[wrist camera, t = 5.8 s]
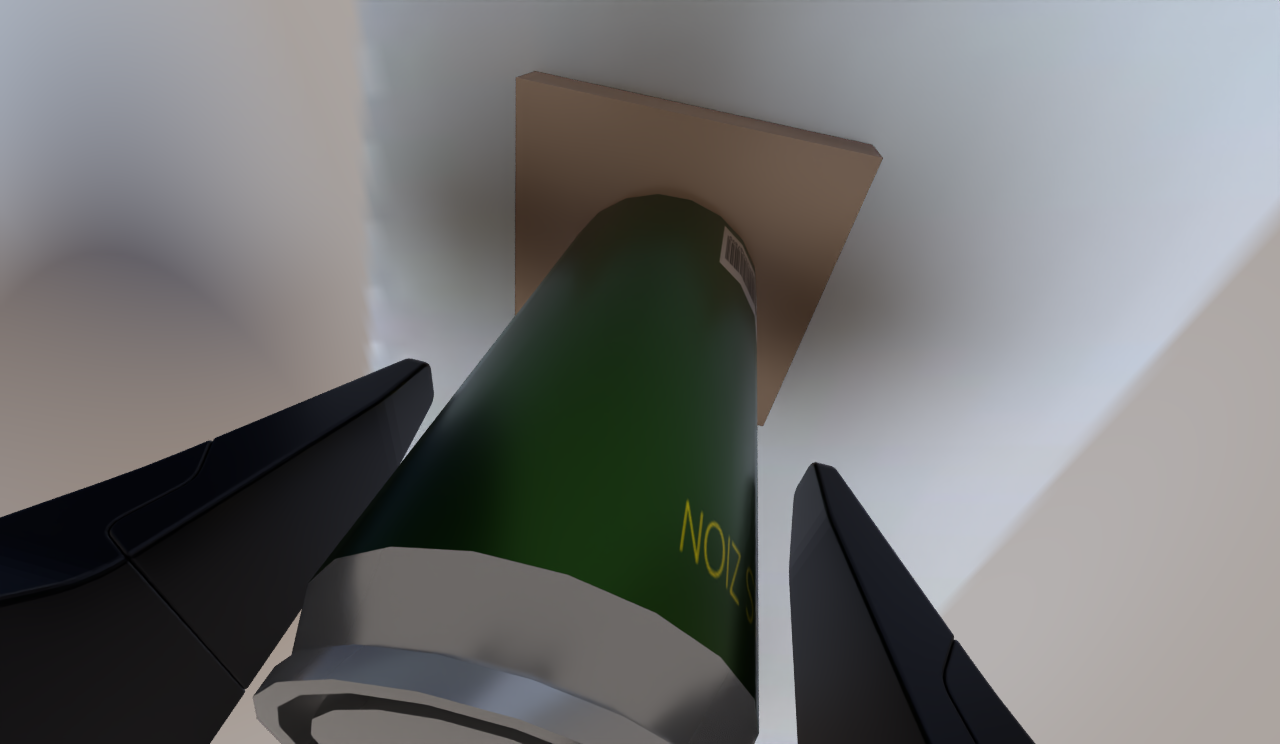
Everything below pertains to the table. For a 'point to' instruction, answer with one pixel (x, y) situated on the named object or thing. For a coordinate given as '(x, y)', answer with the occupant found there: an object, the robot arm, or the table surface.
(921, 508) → the table surface
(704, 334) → the beer can
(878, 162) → the brown square coaster
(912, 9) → the table surface
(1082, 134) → the table surface
